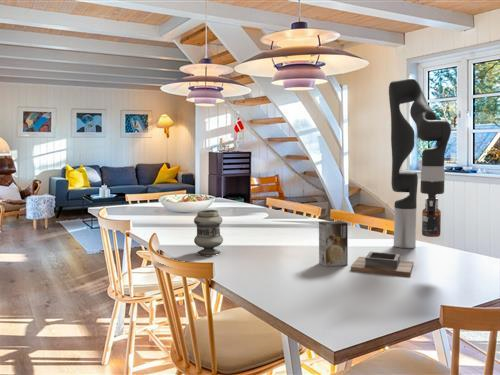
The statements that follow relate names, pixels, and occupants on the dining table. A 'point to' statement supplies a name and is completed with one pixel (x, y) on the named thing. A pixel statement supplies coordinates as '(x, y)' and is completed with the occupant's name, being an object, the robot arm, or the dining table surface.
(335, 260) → the coffee box
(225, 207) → the dining table surface
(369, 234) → the dining table surface
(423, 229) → the supplement bottle
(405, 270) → the socket plate
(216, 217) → the apothecary jar
